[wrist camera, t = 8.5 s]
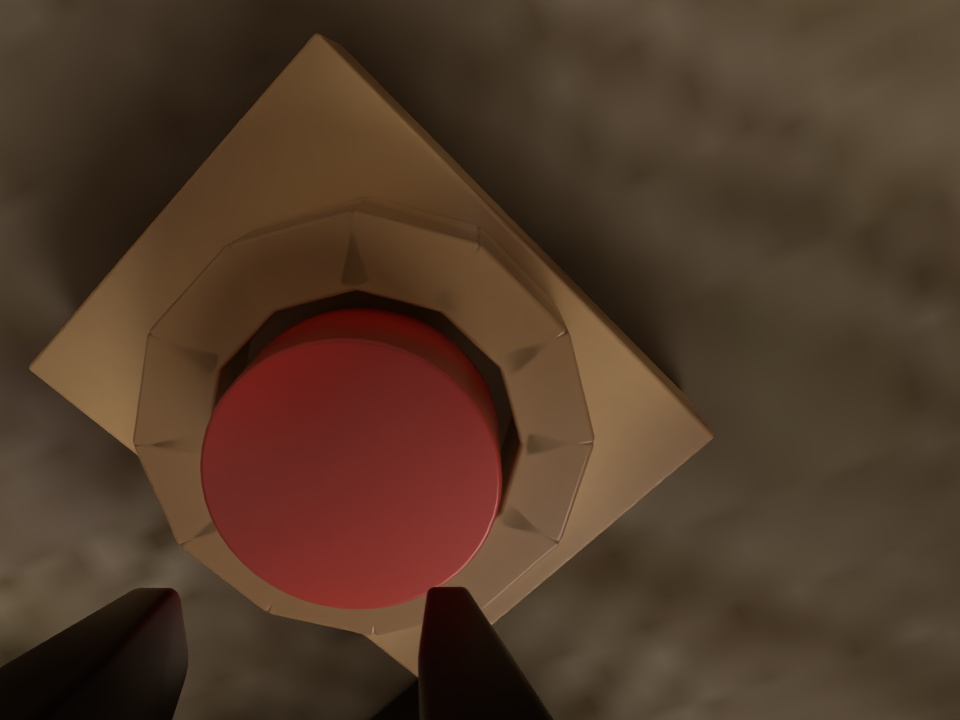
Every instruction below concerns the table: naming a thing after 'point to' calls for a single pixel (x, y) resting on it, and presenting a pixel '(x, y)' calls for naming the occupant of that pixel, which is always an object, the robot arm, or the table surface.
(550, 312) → the button block
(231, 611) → the table surface
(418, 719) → the dial console
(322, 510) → the button
